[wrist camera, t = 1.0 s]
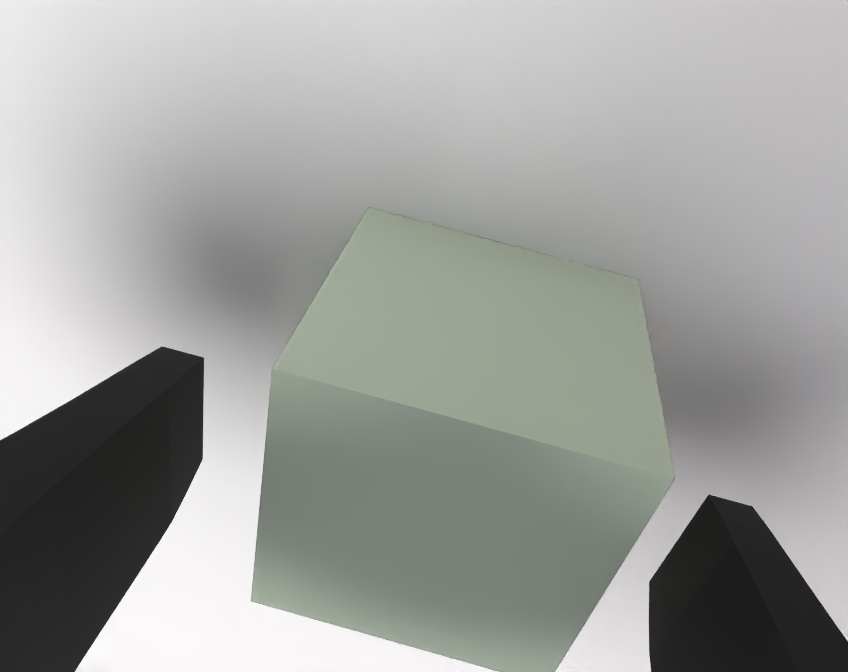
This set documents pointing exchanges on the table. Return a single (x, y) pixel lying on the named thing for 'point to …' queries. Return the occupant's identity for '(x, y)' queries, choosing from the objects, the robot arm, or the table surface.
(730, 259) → the table surface
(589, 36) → the table surface
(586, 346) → the sage cube
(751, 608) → the robot arm
